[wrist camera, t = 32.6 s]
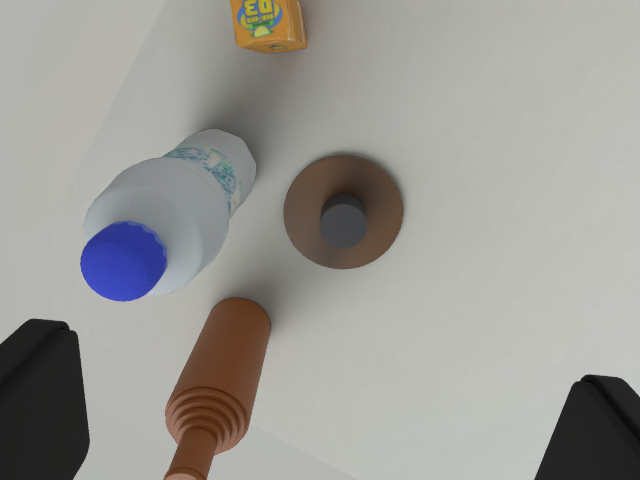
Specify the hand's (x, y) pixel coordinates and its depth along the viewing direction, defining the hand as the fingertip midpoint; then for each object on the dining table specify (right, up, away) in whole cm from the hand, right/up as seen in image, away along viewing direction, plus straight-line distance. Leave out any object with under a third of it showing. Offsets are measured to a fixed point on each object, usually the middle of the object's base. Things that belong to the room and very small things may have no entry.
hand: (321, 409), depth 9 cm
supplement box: (-3, +19, +25) cm, 31 cm away
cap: (+2, +5, +29) cm, 30 cm away
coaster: (+2, +5, +30) cm, 31 cm away
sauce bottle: (-8, -5, +35) cm, 36 cm away
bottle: (-8, +10, +29) cm, 31 cm away
